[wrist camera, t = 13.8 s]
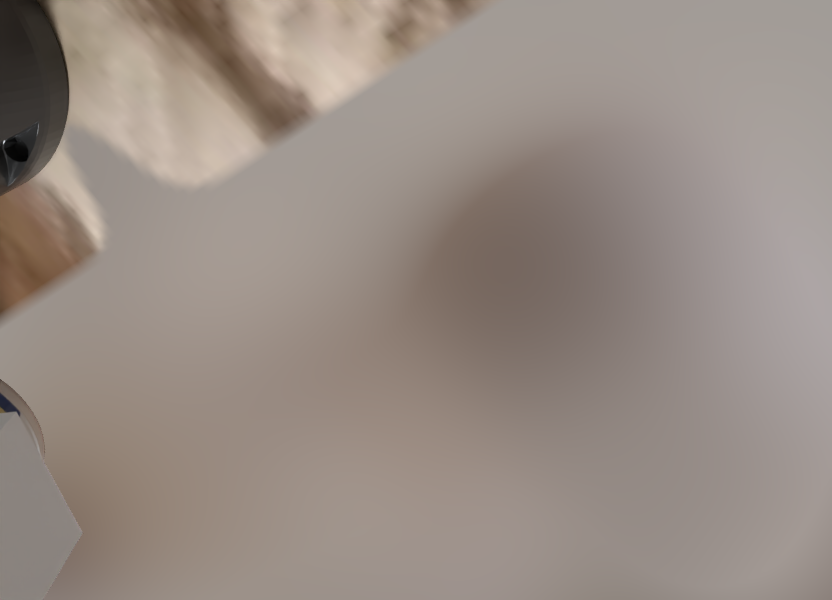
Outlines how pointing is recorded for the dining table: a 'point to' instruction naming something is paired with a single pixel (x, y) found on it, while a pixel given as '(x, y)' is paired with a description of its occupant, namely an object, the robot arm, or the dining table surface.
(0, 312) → the dining table surface
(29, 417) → the supplement tub
